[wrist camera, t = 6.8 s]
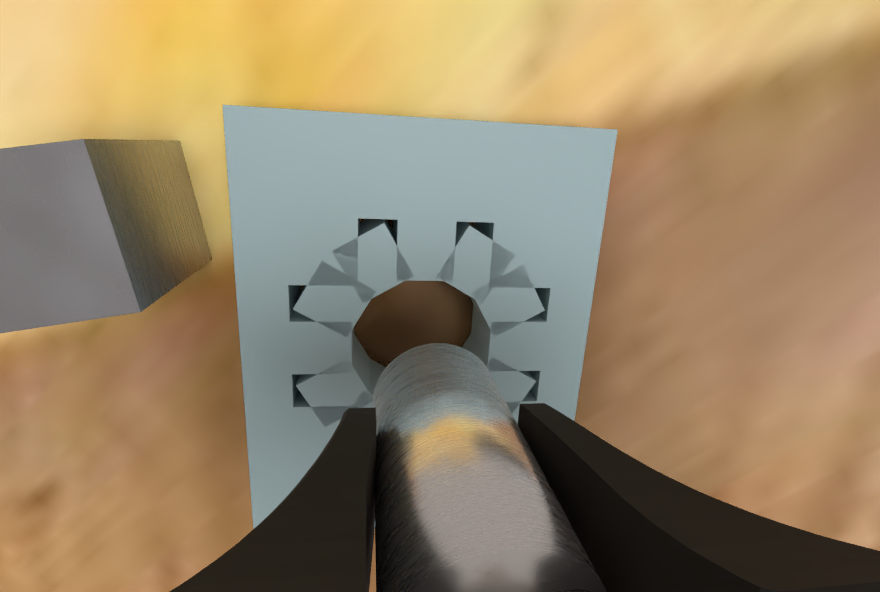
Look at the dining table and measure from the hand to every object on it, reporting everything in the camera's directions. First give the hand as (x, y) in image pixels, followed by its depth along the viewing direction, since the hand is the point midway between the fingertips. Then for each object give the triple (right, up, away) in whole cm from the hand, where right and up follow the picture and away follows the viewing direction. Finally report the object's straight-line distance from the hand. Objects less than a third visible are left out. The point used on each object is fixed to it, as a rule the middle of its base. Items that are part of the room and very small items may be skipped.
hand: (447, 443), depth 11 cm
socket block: (-1, +3, +8) cm, 9 cm away
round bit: (0, +1, +2) cm, 2 cm away
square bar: (-11, +6, +6) cm, 14 cm away
